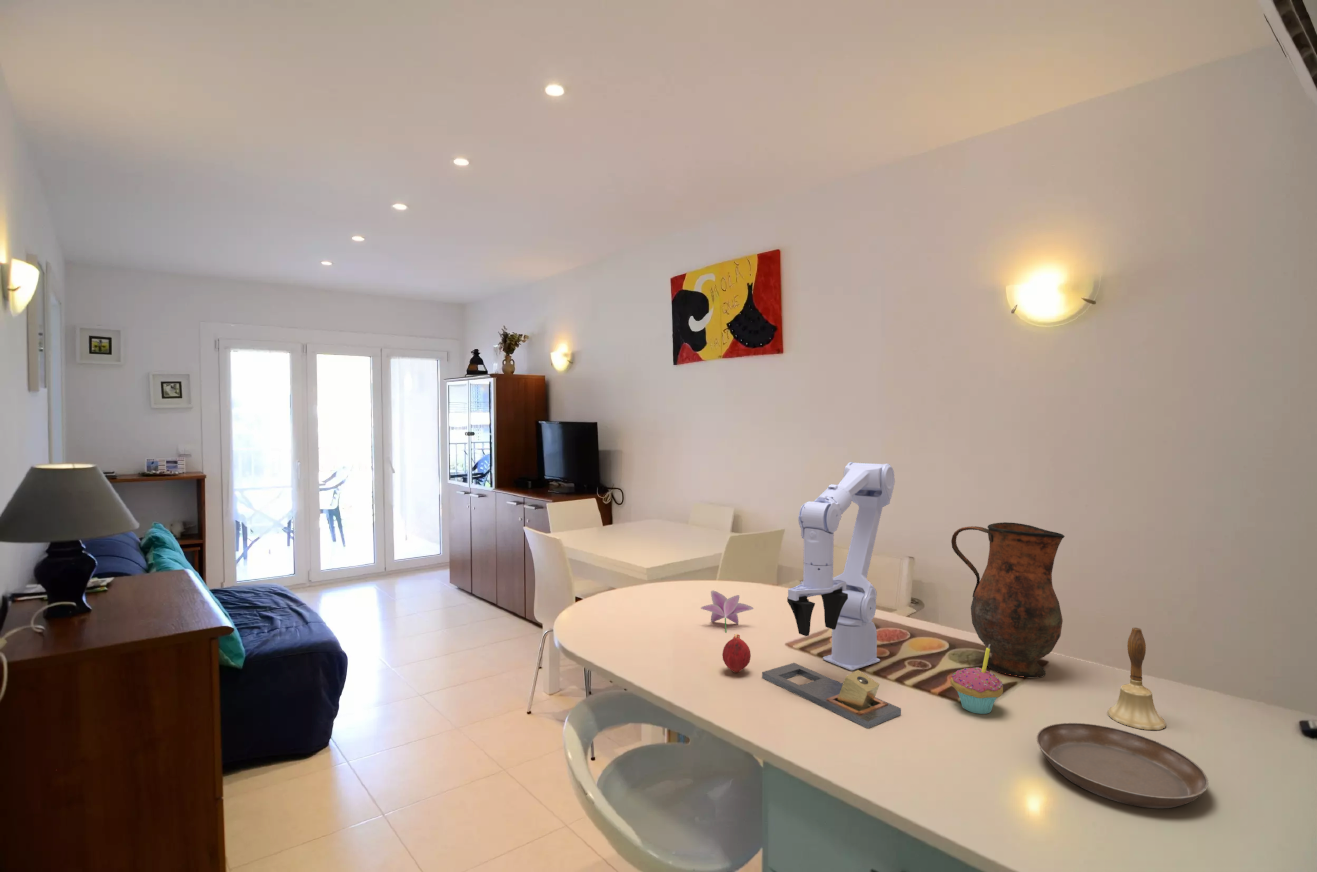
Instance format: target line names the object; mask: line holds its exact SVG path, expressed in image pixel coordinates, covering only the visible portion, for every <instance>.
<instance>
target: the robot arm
mask: <svg viewBox="0 0 1317 872" xmlns="http://www.w3.org/2000/svg"><path fill="white" fill-rule="evenodd" d="M895 483H896V480H895V471H894V467H892V465H891V464H890V463H869V462H868V463H866V462H865V463H864V462H863V463H862V462H853V461H849V462H848V463H847V464H846V465H845V467H844V471H843V477H842V479H841V480H840V481H839V483H838V484H833V483H832V484H829V485H828V487H827V488H826V489H825V490H824V491H823V492H821V494H820V495H819V496H818V497H816V498H815V500H813V501H806V502H804V503H803V504H802V505H801V506H800V509H799V513H798V516H797V520H798V525H799V528H800V536H801V539H803V571H802V572H803V574H802V575H803V576H802V578H803V580H802V581H800V584H798V585H796V586H794V587H790V588H788V589H787V600H786V602H787V603H788V605H789V607H790V609H791V610H792V613H793V615H794V619H795V623H796V627H797V631H798V634H799V635H801V636H804V637H809V636H810V632H811V621H812V615H813V611H814V608H815V605H816V603H815V602H814V601H810V600H809V599H808V598H811V597H815V596H821V599H822V607H823V611H824V626H825V628H827V629H830V630H831V654H828V655H826V656H825V655H824V656H823V657H822V659H823V660H824V661H826V662H828V663H831V664H833V665H836V666H839V667H840V668H841V667H842V668H844V669H846V670H847V671H848V670H849V671H856V670H859V669H861V668H864V667H867V666H869V665H873V664H876V663H879V662H881V659H880V658H878V657H877V655H878V654H877V653H878V650H877V649H878V646H877V643H878V635H877V634H878V633H877V632H878V631H877V628H876V625H875V623H874V622H873V619H874V617H875V615H876V610H877V596H878V595H877V590H876V588H875V586H874V585H873V584H872V583H871V581H869V580H868V579H867V577H868V572H869V570H870V569H869V568H870V566H871V565H870V564H871V560H872V556H873V551H874V546H875V541H876V537H877V533H878V530H879V529H878V528H879V526H880V525H879V524H880V521H881V516H882V512H883V508H884V507H886V506H888V505H889V504H891V503H890V502H891V499H892V497H893V496H892V495H893V492H894V486H895ZM852 502H853V503H855V505H857V506H858V509H857V514H856V517H855V523H854V526H853V527H854V528H853V531H852V535H851V539H850V543H849V548H848V553H847V555H846V556H847V557H846V561H845V565H844V569H843V572H842V573H840V574H837V575H836V576H834V540H835V539H834V536H835V534H834V533H835V532H836V531H837V530H838V528H839V524H840V521H841V520H842V515H843V514H844V513H845V511H847V509H849V508H850V507H851V504H852Z"/></svg>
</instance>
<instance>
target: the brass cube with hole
mask: <svg viewBox="0 0 1317 872" xmlns="http://www.w3.org/2000/svg"><path fill="white" fill-rule="evenodd" d="M879 687H880V683H879V682H877V681H875V680H874V679H872V678H871V677H869V676H868V675H866V674H865V673H864V672H862V671H861V670H859V669H856V670H854V671H853V672H851V673H849V674H848V675H846V676H845V677H844V680H843V685H842V688H841V691H840V694H839V696H838V699H837V700H838V701H840V702H841V703H842V704H844V705H846V706H848V707H851V708H853V709H855V710H857V711H862V710H865V709H867V708H870V707H872V703H873V701H874V698H875V697H876V695H877V692H878V690H879Z"/></svg>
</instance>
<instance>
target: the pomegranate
mask: <svg viewBox="0 0 1317 872" xmlns="http://www.w3.org/2000/svg"><path fill="white" fill-rule="evenodd" d="M751 654H752V653H751V649H750V646H749V645H748V644H747V643H746V642H745V641H744V640H743V639H741V635H740V634H739V633H736V634H734V636H733V637H732V639H730V640H728V641H727V642H726V643H725V645H724V646H723V649H722V654H721V655H722V660H723V663H724V664H725V666H726V667H727V668H728V669H729V670H731V671H732V672H733V673H735V674H738V673H740V672H741V671H742V670H744V669H745V668H747V666H748V665H749V663H750V661H751V657H752V656H751Z"/></svg>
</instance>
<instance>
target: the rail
mask: <svg viewBox="0 0 1317 872" xmlns="http://www.w3.org/2000/svg"><path fill="white" fill-rule="evenodd" d="M761 676H762V677H761V678H762V679H764V680H766V681H768V682H770V683H772V684H774V685H776V686H778V687H781V689H784V690H787V691H789V692H791V693H793V694H795V695H797V696H799V697H801V698H803V699H806V700H808V701H810V702H812V703H814V704H816V705H818V706H820V707H822V708H824V709H826V710H829V711H830V712H832V713H834V714H837V715H838V716H841V717H842V718H845V719H847V720H848V721H851V722H853V723H855V724H858V725H859V726H861V727H864V728H866V729H869V728H872V727H875V726H877V725H880V724H882V723H884V722H887V721H889V720H892V719H894V718H897V717H899V716H902V715H901V714H902V708H901V707H899V706H896V705H895V704H892V703H890V702H887V701H885V700H882V699H881V698H878V697H876V696H875V698H874V701H873V703H872V706H871V707H870V708H867V709H865V710H862V711H857V710H855V709H853V708H851V707H848V706H846V705H844V704H842V703H841V702H840V701H838V700H837V699H838V696H839V694H840V691H841V688H842V685H843V683H844V682H843V683H842V682H840V681H838V680H836V679H833V678H831V677H828V676H826V675H823V674H821V673H819V672H816V671H814V670H812V669H810V668H807V667H804V666H803V665H800V664H799V663H798V664H797V663H795V662H793V663H788V664H785V665H781V666H778V667H774V668H772V669H768V670H764V671H762V672H761ZM797 676H801V677H804V678H806V679H808V680H810V681H809V682H806V683H803V684H801V685H800V684H798V683H796V682H793V681H791V680H789V678H793V677H797Z"/></svg>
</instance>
